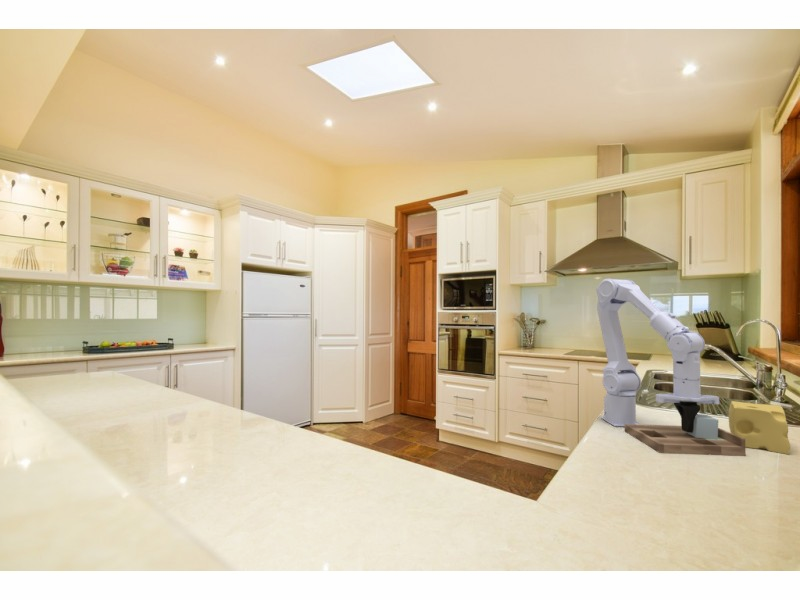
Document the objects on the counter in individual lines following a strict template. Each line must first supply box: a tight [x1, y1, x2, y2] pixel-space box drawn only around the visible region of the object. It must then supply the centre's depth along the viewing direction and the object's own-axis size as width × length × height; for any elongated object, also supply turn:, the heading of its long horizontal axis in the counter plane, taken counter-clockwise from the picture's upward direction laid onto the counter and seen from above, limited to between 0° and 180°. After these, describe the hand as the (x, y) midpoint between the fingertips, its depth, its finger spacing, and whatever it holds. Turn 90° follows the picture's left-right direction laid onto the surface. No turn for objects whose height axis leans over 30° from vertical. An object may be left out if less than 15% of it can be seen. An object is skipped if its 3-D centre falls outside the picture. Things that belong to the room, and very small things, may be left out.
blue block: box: [684, 413, 719, 440], centre depth 101 cm, size 5×5×5 cm
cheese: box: [728, 400, 791, 455], centre depth 101 cm, size 10×11×10 cm
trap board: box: [624, 424, 747, 457], centre depth 102 cm, size 17×19×4 cm
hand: (687, 431), depth 101 cm, fingers closed, pressing on blue block
